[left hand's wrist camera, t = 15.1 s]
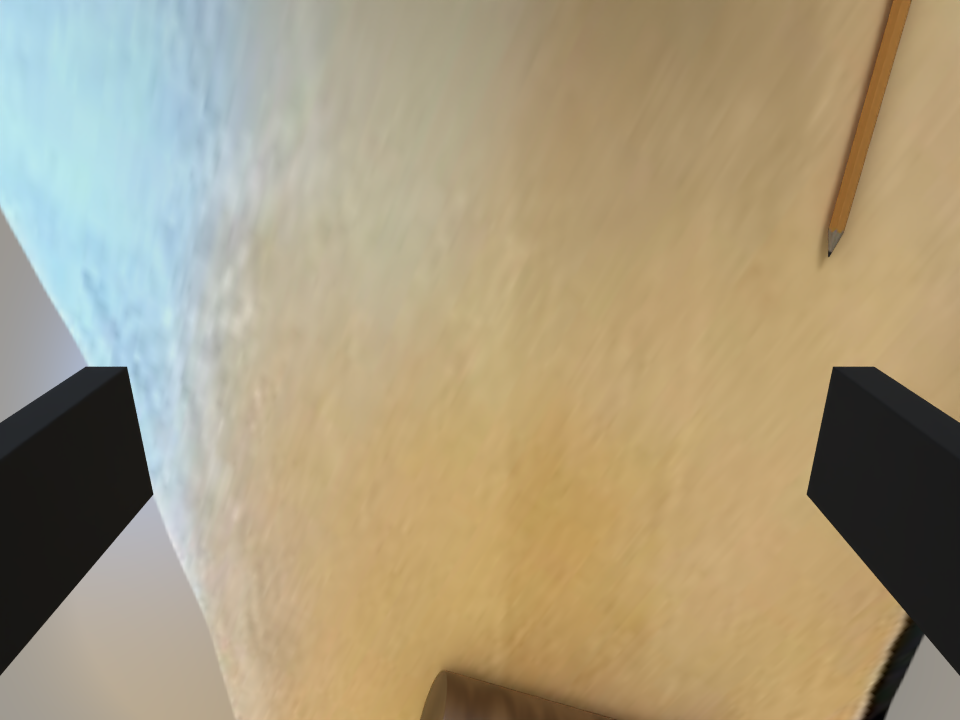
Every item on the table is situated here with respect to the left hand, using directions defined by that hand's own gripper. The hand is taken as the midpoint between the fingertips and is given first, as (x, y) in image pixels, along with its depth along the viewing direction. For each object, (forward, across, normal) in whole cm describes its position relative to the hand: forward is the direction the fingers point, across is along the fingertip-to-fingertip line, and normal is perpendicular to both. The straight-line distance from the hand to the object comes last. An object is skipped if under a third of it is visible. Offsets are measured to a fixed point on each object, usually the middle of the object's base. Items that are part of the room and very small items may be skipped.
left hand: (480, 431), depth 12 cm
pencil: (+31, +23, +6) cm, 39 cm away
